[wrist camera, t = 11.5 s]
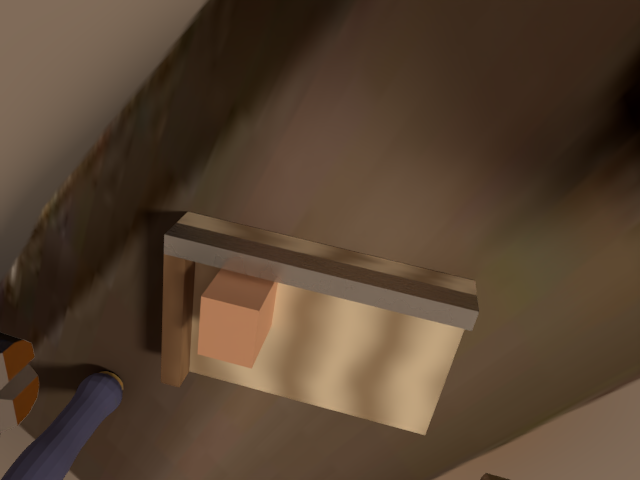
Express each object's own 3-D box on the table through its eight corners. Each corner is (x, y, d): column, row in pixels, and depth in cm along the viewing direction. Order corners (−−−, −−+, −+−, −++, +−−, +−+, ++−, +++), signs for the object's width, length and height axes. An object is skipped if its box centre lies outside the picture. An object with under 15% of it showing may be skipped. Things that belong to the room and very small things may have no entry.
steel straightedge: (476, 295, 36) (478, 312, 34) (470, 314, 37) (471, 331, 35) (176, 222, 38) (164, 234, 37) (176, 241, 39) (163, 253, 37)
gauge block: (279, 272, 38) (259, 311, 34) (271, 326, 41) (251, 368, 36) (227, 259, 39) (201, 296, 35) (222, 313, 41) (197, 354, 37)
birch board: (475, 280, 38) (478, 312, 34) (425, 416, 45) (424, 454, 41) (187, 211, 40) (164, 234, 37) (181, 351, 47) (160, 382, 43)
